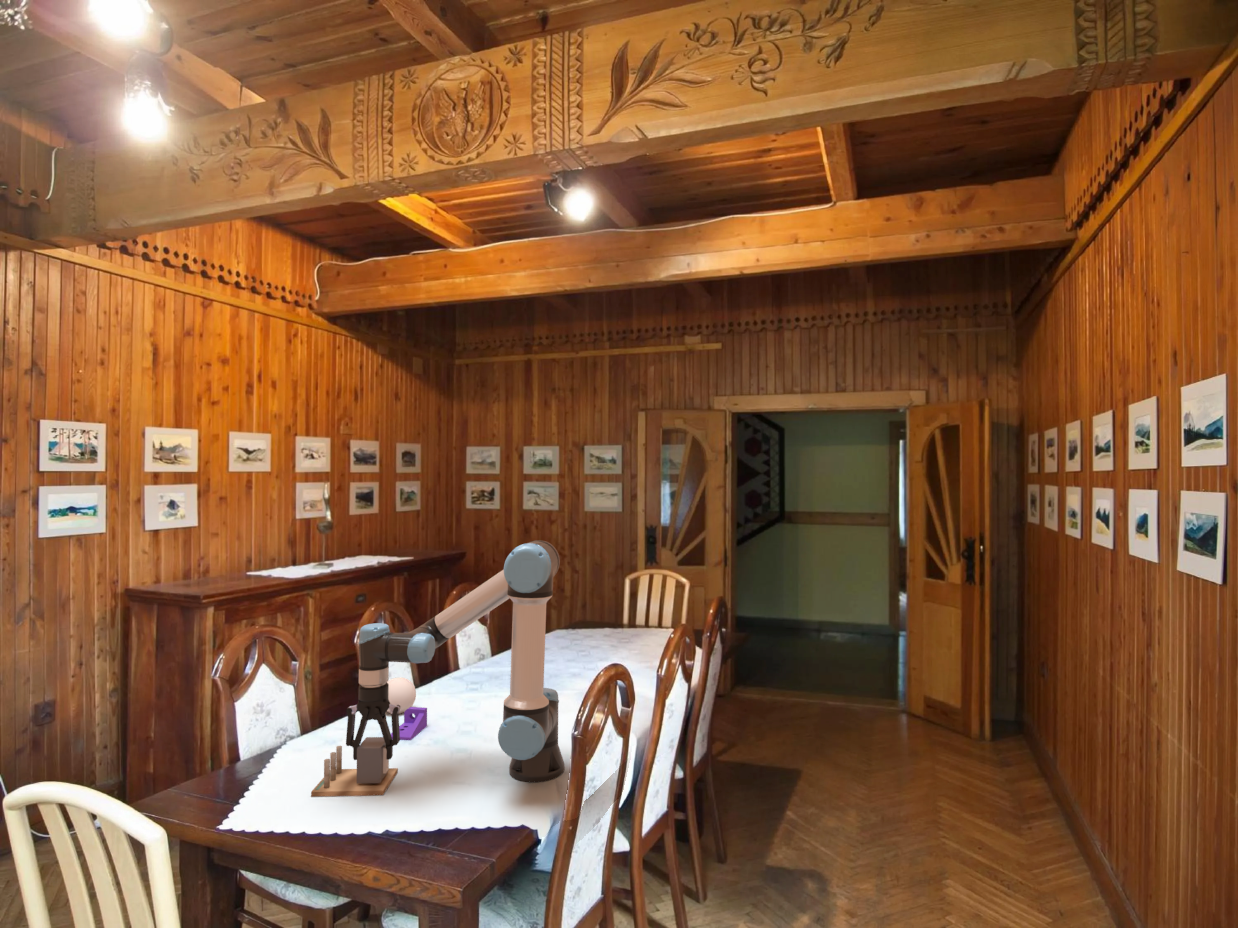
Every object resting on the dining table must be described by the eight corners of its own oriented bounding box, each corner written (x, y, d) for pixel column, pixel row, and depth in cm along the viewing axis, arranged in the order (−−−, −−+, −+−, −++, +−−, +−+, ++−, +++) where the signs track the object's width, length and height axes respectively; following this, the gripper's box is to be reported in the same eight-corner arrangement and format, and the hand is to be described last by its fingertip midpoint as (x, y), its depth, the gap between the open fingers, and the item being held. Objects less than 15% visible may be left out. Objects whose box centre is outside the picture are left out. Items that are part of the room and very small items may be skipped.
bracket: (406, 727, 232) (407, 706, 233) (426, 728, 231) (427, 707, 232) (389, 741, 221) (389, 718, 221) (410, 742, 220) (410, 719, 220)
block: (388, 770, 194) (388, 736, 194) (380, 783, 186) (380, 748, 186) (365, 770, 193) (366, 737, 193) (356, 783, 185) (356, 748, 185)
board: (397, 772, 197) (397, 742, 197) (383, 795, 183) (383, 762, 183) (330, 773, 196) (331, 743, 196) (311, 796, 182) (311, 763, 182)
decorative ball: (415, 706, 253) (415, 672, 254) (416, 716, 242) (416, 681, 242) (379, 709, 250) (379, 674, 250) (379, 720, 238) (379, 684, 239)
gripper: (413, 679, 194) (412, 765, 194) (342, 679, 193) (341, 766, 193) (406, 687, 186) (405, 776, 186) (332, 687, 186) (331, 777, 185)
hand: (372, 771), depth 189 cm, fingers closed on block, 6 cm apart
